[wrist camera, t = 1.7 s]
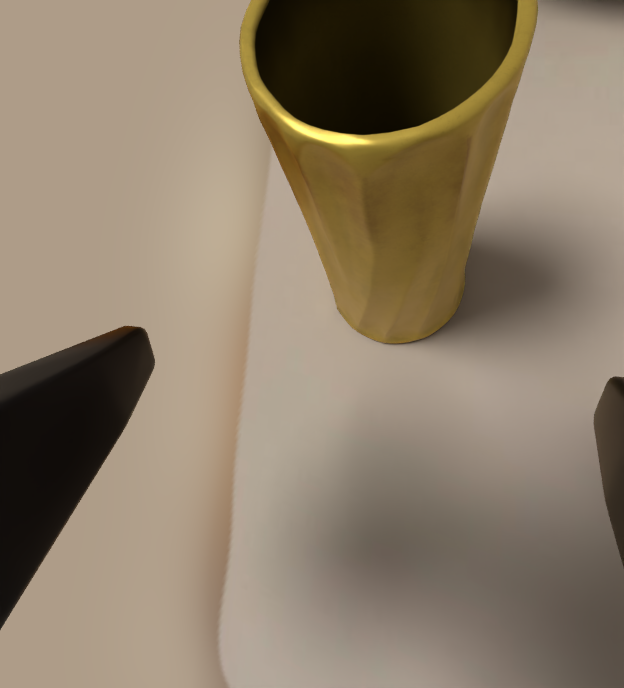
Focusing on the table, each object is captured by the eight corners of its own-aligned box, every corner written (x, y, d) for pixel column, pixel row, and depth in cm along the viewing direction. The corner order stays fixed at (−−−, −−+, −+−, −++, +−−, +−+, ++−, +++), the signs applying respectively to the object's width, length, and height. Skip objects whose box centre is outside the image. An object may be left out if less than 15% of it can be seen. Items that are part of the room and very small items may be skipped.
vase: (308, 271, 23) (159, 20, 9) (410, 197, 22) (415, -181, 9) (382, 370, 21) (337, 246, 7) (492, 291, 21) (661, 8, 7)
